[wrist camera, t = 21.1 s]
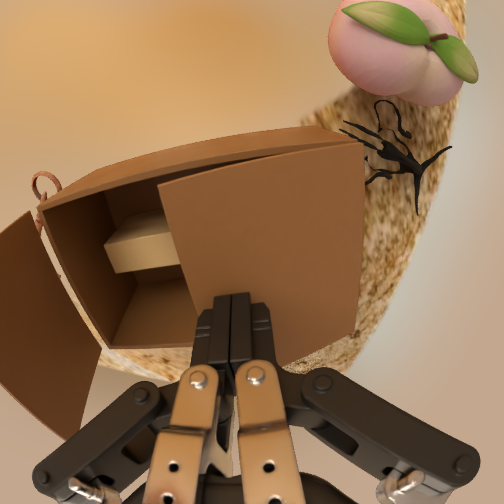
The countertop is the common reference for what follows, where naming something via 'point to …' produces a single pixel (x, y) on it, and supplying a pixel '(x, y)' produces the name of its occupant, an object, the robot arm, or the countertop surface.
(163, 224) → the tan wooden block
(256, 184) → the flap
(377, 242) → the countertop surface
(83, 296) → the carton
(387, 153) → the creature
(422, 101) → the decorative fruit
